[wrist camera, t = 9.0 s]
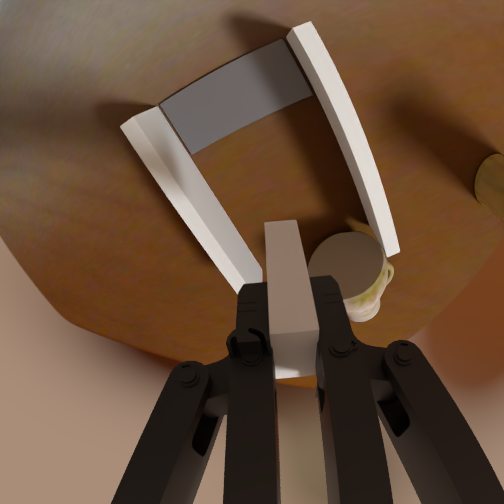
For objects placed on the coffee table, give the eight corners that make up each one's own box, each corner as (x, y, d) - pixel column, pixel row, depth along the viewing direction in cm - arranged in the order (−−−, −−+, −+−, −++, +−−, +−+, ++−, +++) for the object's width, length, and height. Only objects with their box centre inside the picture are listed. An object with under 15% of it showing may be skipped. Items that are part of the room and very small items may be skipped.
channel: (145, 114, 21) (119, 126, 17) (300, 31, 17) (310, 21, 13) (251, 274, 30) (249, 310, 26) (380, 221, 26) (400, 251, 22)
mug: (335, 313, 33) (315, 359, 24) (317, 231, 32) (290, 251, 23) (398, 303, 30) (401, 350, 21) (384, 217, 29) (384, 232, 20)
